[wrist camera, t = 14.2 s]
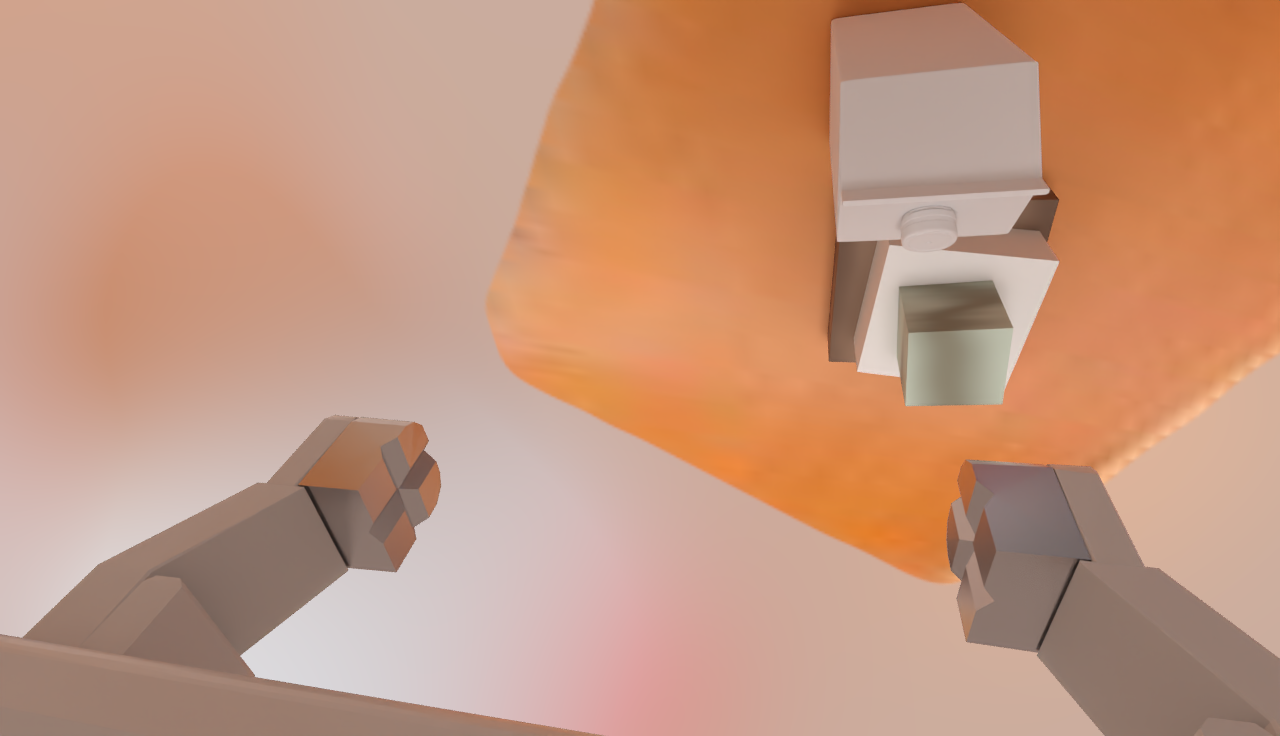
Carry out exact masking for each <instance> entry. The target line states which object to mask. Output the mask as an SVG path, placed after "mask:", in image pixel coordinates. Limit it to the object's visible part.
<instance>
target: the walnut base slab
mask: <svg viewBox="0 0 1280 736" xmlns="http://www.w3.org/2000/svg"><path fill="white" fill-rule="evenodd" d="M1044 182H1045V181H1044ZM1047 186H1048V185H1047ZM1048 187H1049V186H1048ZM1058 201H1059V199H1058V198H1057V197H1056V195H1055V194H1054V193H1053V191H1052V190H1051V189H1050V191H1049V193H1048V194H1046V195H1033V197H1032V198H1031V200H1030V201H1029V203H1028V204H1027V206H1026V207H1025V209H1024V210H1023V212H1022V213H1021V215H1020V216H1019V218H1018V219H1017V221H1016V223H1015V224H1014V226H1013V227H1012V229H1023V230H1034V231H1040V233H1041V234H1042V236H1043V237H1044V239H1045V240H1046V242H1047V240H1048V237H1049V233H1050V230H1051V226H1052V223H1053V219H1054V216H1055V212H1056V208H1057V205H1058ZM876 245H877V241H855V242H838V241H837V235H836V243H835V255H834V267H833V278H832V290H831V302H830V314H829V326H828V353H829V361H831V362H856V356H855V346H854V335H855V331H856V327H857V323H858V319H859V314H860V310H861V306H862V302H863V298H864V294H865V290H866V286H867V282H868V278H869V273H870V269H871V265H872V261H873V257H874V253H875V249H876Z"/></svg>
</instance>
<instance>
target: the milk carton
mask: <svg viewBox="0 0 1280 736" xmlns="http://www.w3.org/2000/svg"><path fill="white" fill-rule="evenodd" d="M829 143H830V156H831V170H832V183H833V196H834V209H835V222H836V235H837V241H838V242H855V241H880V240H900V239H901V244H902V246H903V247H904V249H906V250H909V251H913V252H932V251H938V250H942V249H945V248H947V247H950V246H951V245H953V244H954V243H955V241H956V240H957V237H966V236H984V235H1000V234H1007V233H1009V232H1010V230H1011V229H1012V227H1013V226H1014V224H1015V223H1016V221H1017V219H1018V218H1019V216H1020V215H1021V213H1022V212H1023V210H1024V209H1025V207H1026V206H1027V204H1028V203H1029V201H1030V200H1031V198H1032V197H1033V195H1046V194H1048V193H1049V191H1050V188H1049V187H1048V186H1047V184H1046V183H1045V182H1044V180H1043V179H1042V156H1041V127H1040V97H1039V68H1038V62H1036V61H1035V60H1034V59H1032V58H1031V57H1030V56H1029V55H1027V54H1026V53H1025V52H1024V51H1022V50H1021V49H1020V48H1019V47H1018V46H1016V45H1015V44H1014V43H1013V42H1011V41H1010V40H1009V39H1008V38H1007V37H1005V36H1004V35H1003V34H1002V33H1000V32H999V31H998V30H997V29H995V28H994V27H993V26H992V25H991V24H989V23H988V22H987V21H986V20H984V19H983V18H982V17H981V16H980V15H978V14H977V13H976V12H975V11H973V10H972V9H971V8H970V7H969V6H967V5H966V4H965V3H953V4H945V5H937V6H929V7H921V8H913V9H905V10H897V11H890V12H882V13H874V14H866V15H858V16H850V17H843V18H836V19H833V20H832V21H831V61H830V132H829Z"/></svg>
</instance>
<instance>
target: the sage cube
mask: <svg viewBox="0 0 1280 736" xmlns="http://www.w3.org/2000/svg"><path fill="white" fill-rule="evenodd" d="M1012 335H1013V326H1012V324H1011V321H1010V319H1009V317H1008V315H1007V312H1006V310H1005V308H1004V305H1003V303H1002V301H1001V299H1000V296H999V294H998V292H997V290H996V287H995V285H994V283H993V281H980V282H964V283H948V284H933V285H917V286H902V287H899V298H898V330H897V361H898V367H899V372H900V378H901V384H902V390H903V395H904V401H905V406H938V405H993V404H1002V403H1003V396H1004V389H1005V382H1006V375H1007V369H1008V362H1009V355H1010V348H1011V341H1012Z"/></svg>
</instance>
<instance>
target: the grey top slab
mask: <svg viewBox="0 0 1280 736" xmlns="http://www.w3.org/2000/svg"><path fill="white" fill-rule="evenodd" d="M1058 264H1059V260H1058V258H1057V257H1056V255H1055V254H1054V252H1053V251H1052V249H1051V248H1050V246H1049V245H1048V243H1047V242H1046V240H1045V239H1044V237H1043V236H1042V234H1041V233H1040V231H1034V230H1023V229H1011V230H1010V232H1009V233H1007V234H1000V235H984V236H966V237H957V240H956V241H955V243H954V244H953V245H951V246H950V247H947V248H945V249H942V250H938V251H932V252H913V251H909V250H906V249H904V247H903V246H902V244H901V239H900V240H880V241H877V245H876V249H875V253H874V257H873V261H872V265H871V269H870V273H869V278H868V282H867V286H866V290H865V294H864V298H863V302H862V306H861V310H860V314H859V319H858V323H857V327H856V331H855V335H854V346H855V356H856V365H857V372H864V373H872V374H880V375H888V376H896V377H900V372H899V367H898V361H897V330H898V298H899V287H902V286H917V285H933V284H948V283H964V282H980V281H993V283H994V285H995V287H996V290H997V292H998V294H999V296H1000V299H1001V301H1002V303H1003V305H1004V308H1005V310H1006V312H1007V315H1008V317H1009V319H1010V321H1011V324H1012V326H1013V335H1012V341H1011V348H1010V355H1009V362H1008V369H1007V375H1006V382H1005V387H1006V385H1007V383H1008V380H1009V378H1010V376H1011V373H1012V371H1013V369H1014V366H1015V364H1016V362H1017V359H1018V357H1019V355H1020V352H1021V350H1022V348H1023V345H1024V343H1025V341H1026V338H1027V336H1028V334H1029V331H1030V329H1031V327H1032V324H1033V322H1034V320H1035V317H1036V315H1037V313H1038V310H1039V308H1040V306H1041V303H1042V301H1043V299H1044V296H1045V294H1046V292H1047V289H1048V287H1049V285H1050V282H1051V280H1052V278H1053V275H1054V273H1055V271H1056V268H1057V266H1058ZM1004 390H1005V389H1004Z"/></svg>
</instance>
